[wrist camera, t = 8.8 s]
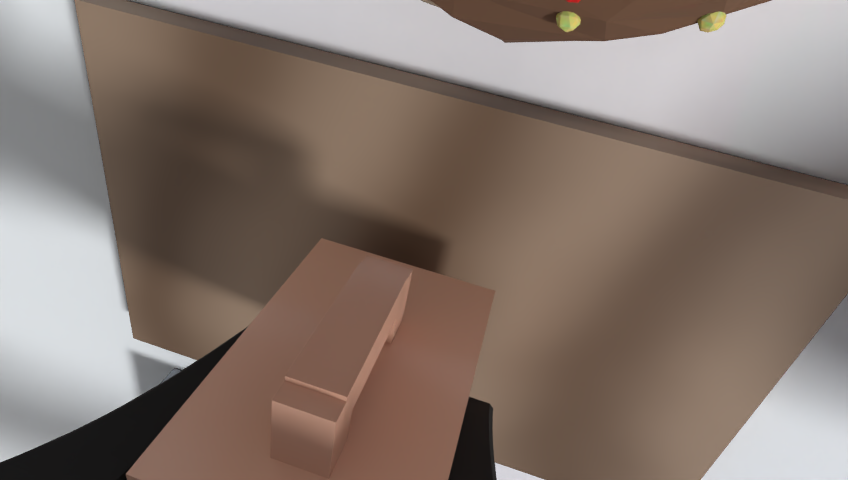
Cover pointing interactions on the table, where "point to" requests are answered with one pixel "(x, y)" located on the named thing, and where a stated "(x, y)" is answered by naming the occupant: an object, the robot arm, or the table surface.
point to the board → (466, 233)
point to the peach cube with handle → (335, 379)
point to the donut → (588, 17)
